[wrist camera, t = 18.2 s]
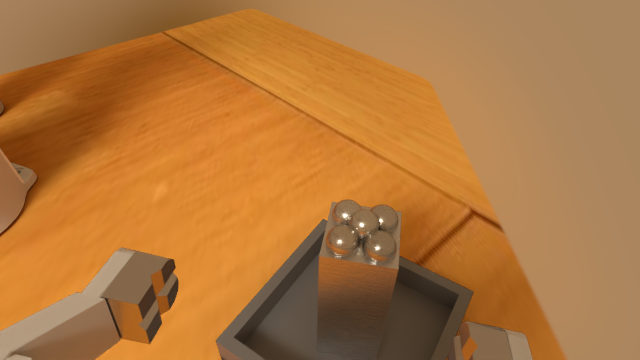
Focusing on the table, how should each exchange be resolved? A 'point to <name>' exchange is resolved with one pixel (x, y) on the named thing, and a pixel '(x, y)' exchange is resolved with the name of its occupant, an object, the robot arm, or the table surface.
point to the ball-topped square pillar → (356, 278)
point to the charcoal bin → (302, 313)
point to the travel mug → (1, 107)
